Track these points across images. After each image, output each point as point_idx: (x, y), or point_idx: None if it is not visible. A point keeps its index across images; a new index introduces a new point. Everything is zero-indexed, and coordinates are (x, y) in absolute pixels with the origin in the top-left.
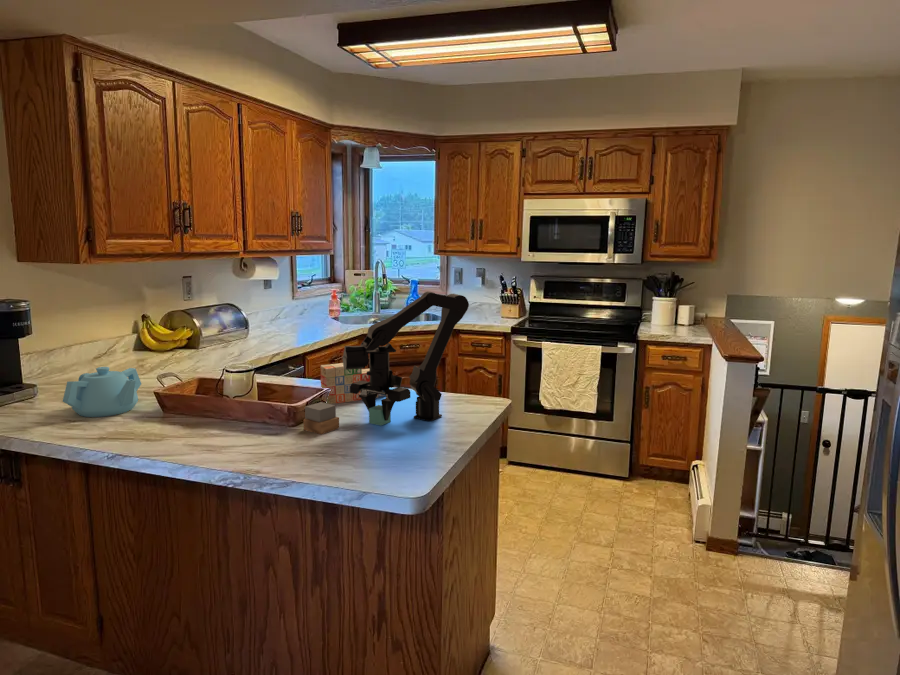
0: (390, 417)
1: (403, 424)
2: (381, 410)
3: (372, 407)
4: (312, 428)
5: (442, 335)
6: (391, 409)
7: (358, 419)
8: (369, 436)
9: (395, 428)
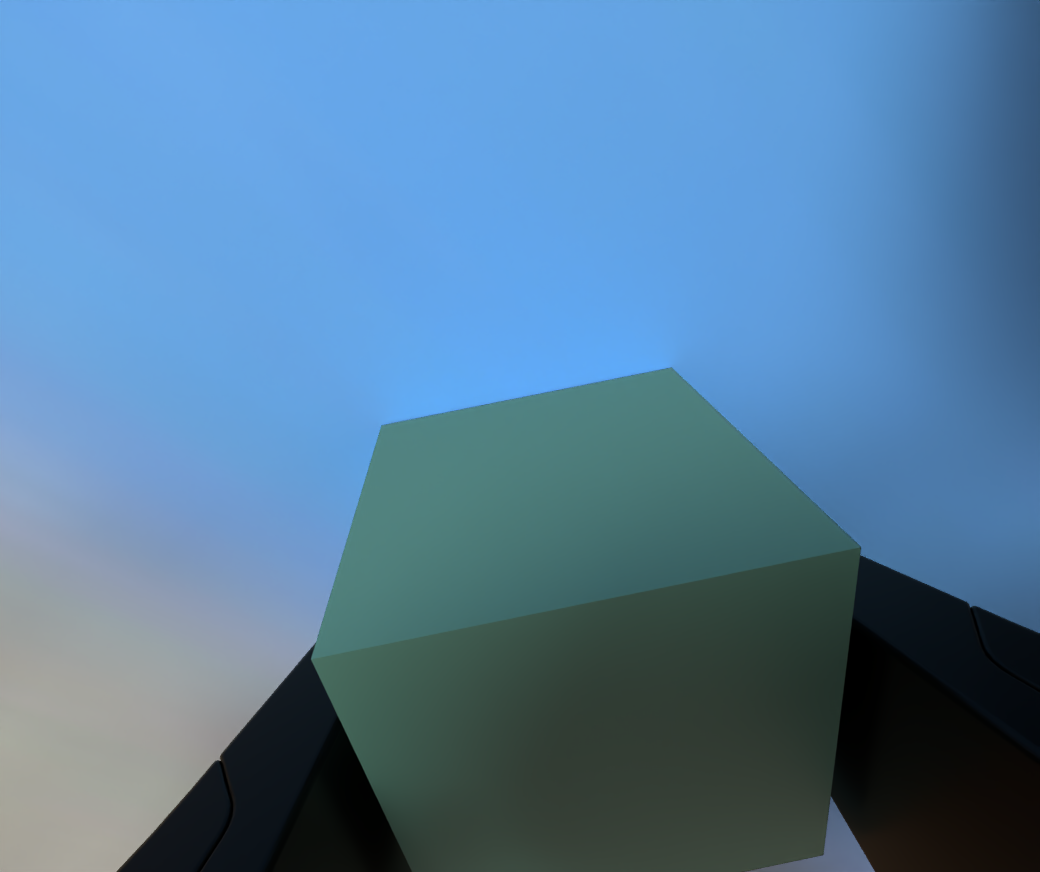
0: (704, 402)
1: (970, 302)
2: (822, 841)
3: (442, 870)
4: None
5: None
6: (964, 605)
7: (163, 655)
8: None
9: (946, 524)
